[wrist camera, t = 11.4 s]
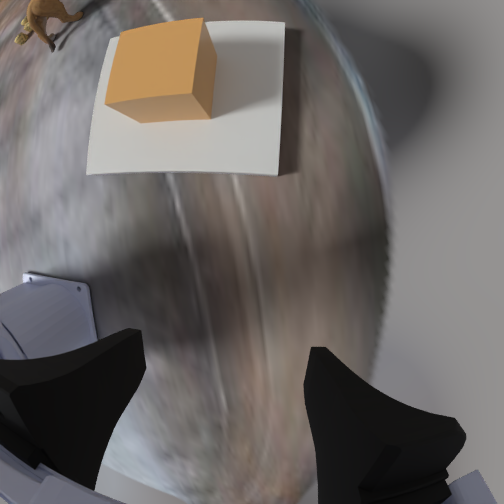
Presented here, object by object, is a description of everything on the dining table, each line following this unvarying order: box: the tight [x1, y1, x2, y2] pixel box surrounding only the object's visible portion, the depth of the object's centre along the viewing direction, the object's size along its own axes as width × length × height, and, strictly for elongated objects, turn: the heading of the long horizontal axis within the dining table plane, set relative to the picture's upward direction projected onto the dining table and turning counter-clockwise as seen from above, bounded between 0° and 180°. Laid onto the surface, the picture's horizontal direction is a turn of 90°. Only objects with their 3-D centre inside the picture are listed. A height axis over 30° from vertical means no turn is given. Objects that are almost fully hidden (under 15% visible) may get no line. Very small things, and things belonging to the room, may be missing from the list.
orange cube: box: [104, 18, 217, 124], centre depth 13 cm, size 5×5×5 cm
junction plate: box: [86, 21, 285, 177], centre depth 15 cm, size 14×12×5 cm
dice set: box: [15, 16, 48, 45], centre depth 14 cm, size 5×5×2 cm
